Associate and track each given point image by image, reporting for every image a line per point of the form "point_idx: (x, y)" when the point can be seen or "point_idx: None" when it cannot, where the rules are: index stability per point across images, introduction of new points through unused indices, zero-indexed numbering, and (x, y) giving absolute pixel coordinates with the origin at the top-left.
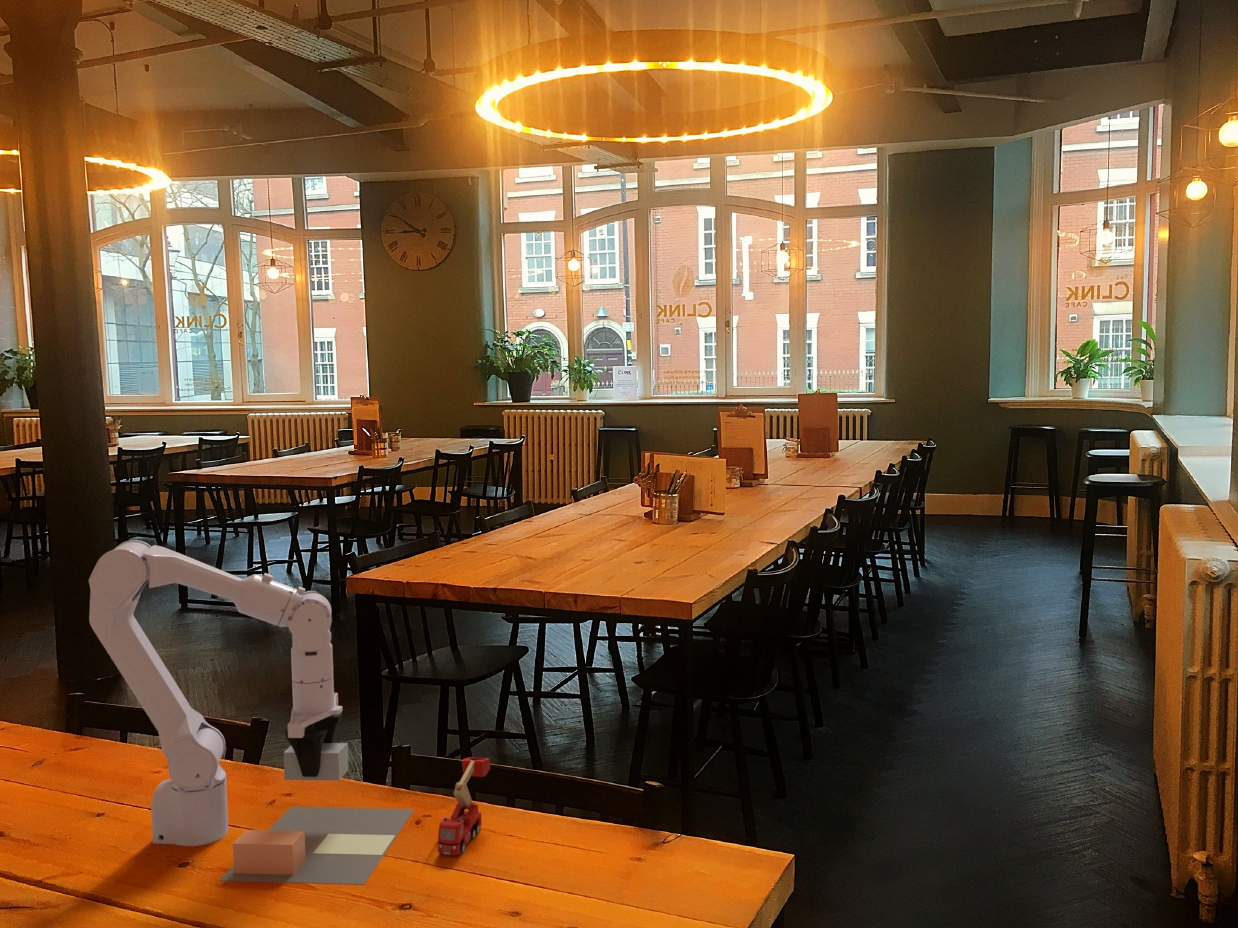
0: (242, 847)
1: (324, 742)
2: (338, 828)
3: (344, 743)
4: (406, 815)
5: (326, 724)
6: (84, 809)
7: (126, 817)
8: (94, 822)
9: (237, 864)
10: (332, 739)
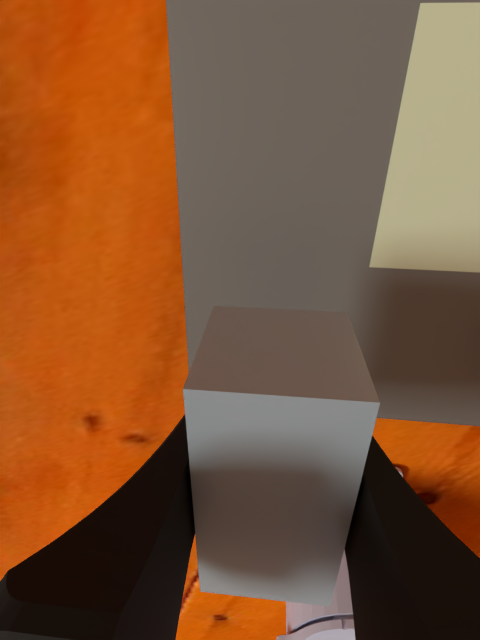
0: None
1: (187, 499)
2: (331, 250)
3: (188, 405)
4: (227, 18)
5: (151, 619)
6: (205, 632)
7: (228, 595)
8: (247, 617)
9: None
10: (172, 481)
